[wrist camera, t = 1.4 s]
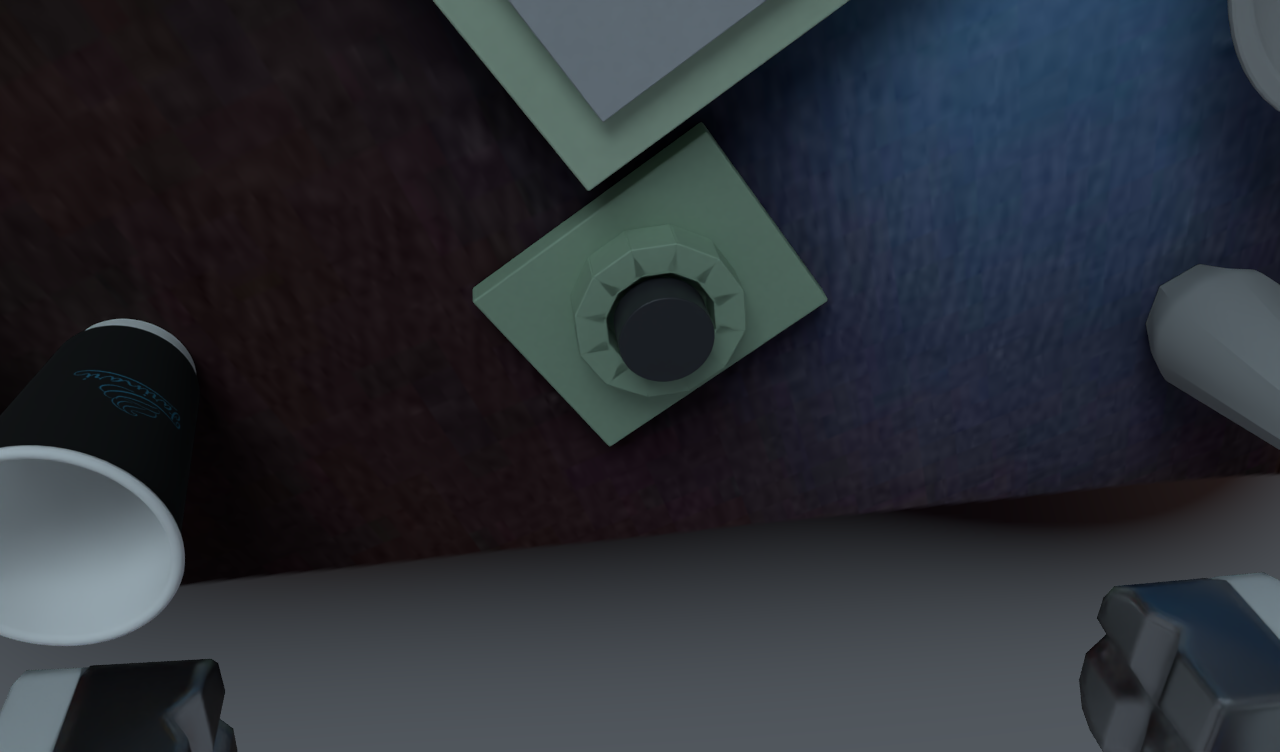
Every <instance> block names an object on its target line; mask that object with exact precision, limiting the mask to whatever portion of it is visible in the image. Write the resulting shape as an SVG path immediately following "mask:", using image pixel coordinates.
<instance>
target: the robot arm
mask: <svg viewBox="0 0 1280 752" xmlns="http://www.w3.org/2000/svg"><path fill="white" fill-rule="evenodd" d="M1097 619H1098V621H1099V622H1100V624H1101V626H1102V627H1103V629H1104V631H1105V632H1106V635H1105V636H1104V637H1103V638H1102V639H1101V640H1100V641H1099V642H1098V643H1097V644H1095V645H1094V646H1093V647H1092V648H1091V649H1090V650H1089V651H1088V652H1087V653H1086V655H1085V659H1084V663H1083V667H1082V671H1081V675H1080V679H1079V682H1080V692H1081V703H1082V709H1083V712H1084V715H1085V718H1086V721H1087V723H1088V726H1089V729H1090V731H1091V732H1092V734H1093V736H1094V738H1095V739H1096V741H1097V743H1098V744H1099V746H1100V748H1101V749H1102V751H1103V752H1280V581H1279V580H1278V579H1276V578H1274V577H1272V576H1270V575H1268V574H1266V573H1264V572H1261V573H1250V574H1240V575H1229V576H1218V577H1213V578H1211V579H1208V578H1201V579H1190V580H1179V581H1168V582H1157V583H1146V584H1134V585H1123V586H1114V587H1113V588H1112V589H1111V590H1110V591H1109V593H1108V594H1107V595H1106V596H1105V597H1104V598H1103V601H1102V604H1101V607H1100V610H1099V613H1098V616H1097ZM224 695H225V689H224V685H223V681H222V677H221V673H220V669H219V665H218V663H217V662H215V661H214V660H212V659H200V660H182V661H167V662H166V661H165V662H147V663H129V664H112V665H94V666H90V667H88V668H70V669H69V668H67V669H47V670H27V671H26V672H25V673H24V674H23V675H22V676H20V677H19V679H17V680H16V681H15V683H14V684H13V685H12V687H11V689H10V691H9V694H8V696H7V698H6V700H5V702H4V705H3V707H2V709H1V712H0V752H237V746H236V741H235V736H234V731H233V728H232V727H230V726H229V725H228V724H226V723H225V722H224V721H222V720H221V719H220V714H221V709H222V704H223V700H224Z"/></svg>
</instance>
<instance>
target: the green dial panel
mask: <svg viewBox="0 0 1280 752" xmlns="http://www.w3.org/2000/svg"><path fill="white" fill-rule="evenodd" d="M656 277H671V278H676V279H680V280H682V281H684V282H687V283H688V284H690V285H691V286H693V287H694V288H695V289H696V290H697V291H698V292H699V294H700V295H701V297H702V298H703V300H704V303H705V305H706V308H707V310H708V313H709V315H710V318H711V320H712V323H713V326H714V332H715V339H714V345H713V348H712V351H711V353H710V355H709V357H708V358H707V360H706V361H705V362H704V364H703V365H702V366H701V367H700V368H699V369H697V370H696V371H695V372H693V373H692V374H690V375H688V376H686V377H684V378H681V379H678V380H674V381H667V382H657V381H651V380H647V379H645V378H642V377H640V376H638V375H637V374H635V373H634V372H632V371H631V370H630V369H629V368H628V367H627V365H626V364H625V363H624V361H623V359H622V357H621V354H620V351H619V347H618V343H617V339H616V334H615V330H614V314H615V310H616V307H617V305H618V303H619V301H620V300H621V298H622V297H623V296H624V294H625V293H626V292H627V291H628V290H630V289H631V288H632V287H633V286H635V285H637V284H638V283H640V282H642V281H645V280H648V279H651V278H656ZM825 302H827V297H826V295H825V294H824V292H823V290H822V288H821V287H820V285H819V284H818V283H817V281H816V280H815V278H814V277H813V276H812V274H811V273H810V271H809V270H808V269H807V267H806V266H805V264H804V263H803V262H802V260H801V259H800V258H799V256H798V255H797V253H796V252H795V251H794V249H793V248H792V246H791V245H790V244H789V242H788V241H787V239H786V238H785V237H784V235H783V234H782V232H781V231H780V230H779V228H778V227H777V225H776V224H775V223H774V221H773V220H772V219H771V217H770V216H769V214H768V213H767V212H766V210H765V209H764V207H763V206H762V205H761V203H760V202H759V200H758V199H757V198H756V196H755V195H754V193H753V192H752V191H751V189H750V188H749V186H748V185H747V184H746V182H745V181H744V180H743V178H742V177H741V175H740V174H739V173H738V171H737V170H736V168H735V167H734V166H733V164H732V163H731V161H730V160H729V159H728V157H727V156H726V154H725V153H724V152H723V150H722V149H721V147H720V146H719V145H718V143H717V142H716V141H715V139H714V138H713V136H712V135H711V134H710V132H709V131H708V129H707V128H706V127H705V125H704V124H703V123H702V122H700V123H699V124H697V125H696V126H694V127H693V128H692V129H690V130H689V131H688V132H686V133H685V134H684V135H682V136H681V137H679V138H678V139H677V140H675V141H674V142H673V143H671V144H670V145H668V146H667V147H666V148H664V149H663V150H662V151H660V152H659V153H657V154H656V155H655V156H653V157H652V158H651V159H649V160H648V161H646V162H645V163H644V164H642V165H641V166H640V167H638V168H637V169H636V170H634V171H633V172H631V173H630V174H629V175H627V176H626V177H625V178H623V179H622V180H620V181H619V182H618V183H616V184H615V185H614V186H612V187H611V188H609V189H608V190H607V191H605V192H604V193H603V194H601V195H600V196H599V197H597V198H596V199H594V200H593V201H592V202H590V203H589V204H588V205H586V206H585V207H583V208H582V209H581V210H579V211H578V212H577V213H575V214H574V215H572V216H571V217H570V218H568V219H567V220H566V221H564V222H563V223H561V224H560V225H559V226H557V227H556V228H555V229H553V230H552V231H551V232H549V233H548V234H546V235H545V236H544V237H542V238H541V239H540V240H538V241H537V242H535V243H534V244H533V245H531V246H530V247H529V248H527V249H526V250H524V251H523V252H522V253H520V254H519V255H518V256H516V257H515V258H514V259H512V260H511V261H509V262H508V263H507V264H505V265H504V266H503V267H501V268H500V269H498V270H497V271H496V272H494V273H493V274H492V275H490V276H489V277H487V278H486V279H485V280H483V281H482V282H481V283H479V284H478V285H476V286H475V287H474V288H473V303H474V304H475V305H476V306H477V307H478V308H479V309H480V310H481V311H482V312H483V313H484V314H485V315H486V317H487V318H488V319H489V320H490V321H491V322H492V323H493V324H494V325H495V326H496V327H497V328H498V329H499V330H500V331H501V332H502V333H503V335H504V336H505V337H506V338H507V339H508V340H509V341H510V342H511V343H512V344H513V345H514V346H515V347H516V348H517V349H518V350H519V351H520V353H521V354H522V355H523V356H524V357H525V358H526V359H527V360H528V361H529V362H530V363H531V364H532V365H533V366H534V367H535V368H536V370H537V371H538V372H539V373H540V374H541V375H542V376H543V377H544V378H545V379H546V380H547V381H548V382H549V383H550V384H551V385H552V386H553V388H554V389H555V390H556V391H557V392H558V393H559V394H560V395H561V396H562V397H563V398H564V399H565V400H566V401H567V402H568V403H569V404H570V406H571V407H572V408H573V409H574V410H575V411H576V412H577V413H578V414H579V415H580V416H581V417H582V418H583V419H584V420H585V421H586V422H587V424H588V425H589V426H590V427H591V428H592V429H593V430H594V431H595V432H596V433H597V434H598V435H599V436H600V437H601V438H602V439H603V440H604V442H605V443H606V444H607V445H608V446H612V445H613V444H615V443H616V442H618V441H619V440H621V439H622V438H624V437H625V436H627V435H628V434H630V433H631V432H633V431H634V430H636V429H637V428H639V427H640V426H642V425H643V424H645V423H646V422H648V421H649V420H651V419H652V418H654V417H655V416H657V415H658V414H660V413H661V412H663V411H664V410H666V409H667V408H669V407H670V406H671V405H673V404H674V403H676V402H677V401H679V400H680V399H682V398H683V397H685V396H686V395H688V394H689V393H691V392H692V391H694V390H695V389H697V388H698V387H700V386H701V385H703V384H704V383H706V382H707V381H709V380H710V379H712V378H713V377H715V376H716V375H718V374H719V373H721V372H722V371H724V370H725V369H727V368H728V367H730V366H731V365H733V364H734V363H736V362H737V361H739V360H740V359H742V358H743V357H745V356H746V355H748V354H749V353H751V352H752V351H754V350H755V349H757V348H758V347H760V346H761V345H762V344H764V343H765V342H767V341H768V340H770V339H771V338H773V337H774V336H776V335H777V334H779V333H780V332H782V331H783V330H785V329H786V328H788V327H789V326H791V325H792V324H794V323H795V322H797V321H798V320H800V319H801V318H803V317H804V316H806V315H807V314H809V313H810V312H812V311H813V310H815V309H816V308H818V307H819V306H821V305H822V304H824V303H825Z"/></svg>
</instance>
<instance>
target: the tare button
mask: <svg viewBox="0 0 1280 752" xmlns="http://www.w3.org/2000/svg"><path fill="white" fill-rule="evenodd" d="M614 330H615V334H616V339H617V343H618V347H619V351H620V354H621V357H622V359H623V361H624V363H625V364H626V365H627V367H628V368H629V369H630V370H631V371H632V372H634V373H635V374H637V375H638V376H640V377H642V378H645V379H647V380H651V381H657V382H667V381H674V380H678V379H681V378H684V377H686V376H688V375H690V374H692V373H693V372H695V371H696V370H697V369H699V368H700V367H701V366H702V365H703V364H704V362H705V361H706V360H707V358H708V357H709V355H710V353H711V351H712V348H713V345H714V339H715V332H714V326H713V323H712V320H711V318H710V315H709V313H708V310H707V308H706V305H705V303H704V300H703V298H702V297H701V295H700V294H699V292H698V291H697V290H696V289H695V288H694V287H693V286H691V285H690V284H688V283H687V282H684V281H682V280H680V279H676V278H671V277H656V278H651V279H648V280H645V281H642V282H640V283H638V284H637V285H635V286H633V287H632V288H631V289H630V290H628V291H627V292H626V293H625V294H624V296H623V297H622V298H621V300H620V301H619V303H618V305H617V307H616V310H615V314H614Z"/></svg>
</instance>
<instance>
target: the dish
mask: <svg viewBox="0 0 1280 752" xmlns="http://www.w3.org/2000/svg"><path fill="white" fill-rule="evenodd" d="M1227 1H1228V18H1229V24H1230V31H1231V37H1232V40H1233V44H1234V48H1235V51H1236V55H1237V57H1238V59H1239V62H1240V64H1241V66H1242V69H1243V71H1244V73H1245V74H1246V76H1247V77H1248V79H1249V81H1250V82H1251V84H1252V86H1253V87H1254V88H1255V89H1256V91H1257V92H1258V93H1259V94H1260V95H1261V96H1262V98H1263V99H1264V100H1265V101H1266V102H1268V103H1269V104H1270V105H1271V106H1272V107H1274V108H1275V109H1276V110H1278V111H1279V112H1280V0H1227Z"/></svg>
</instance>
